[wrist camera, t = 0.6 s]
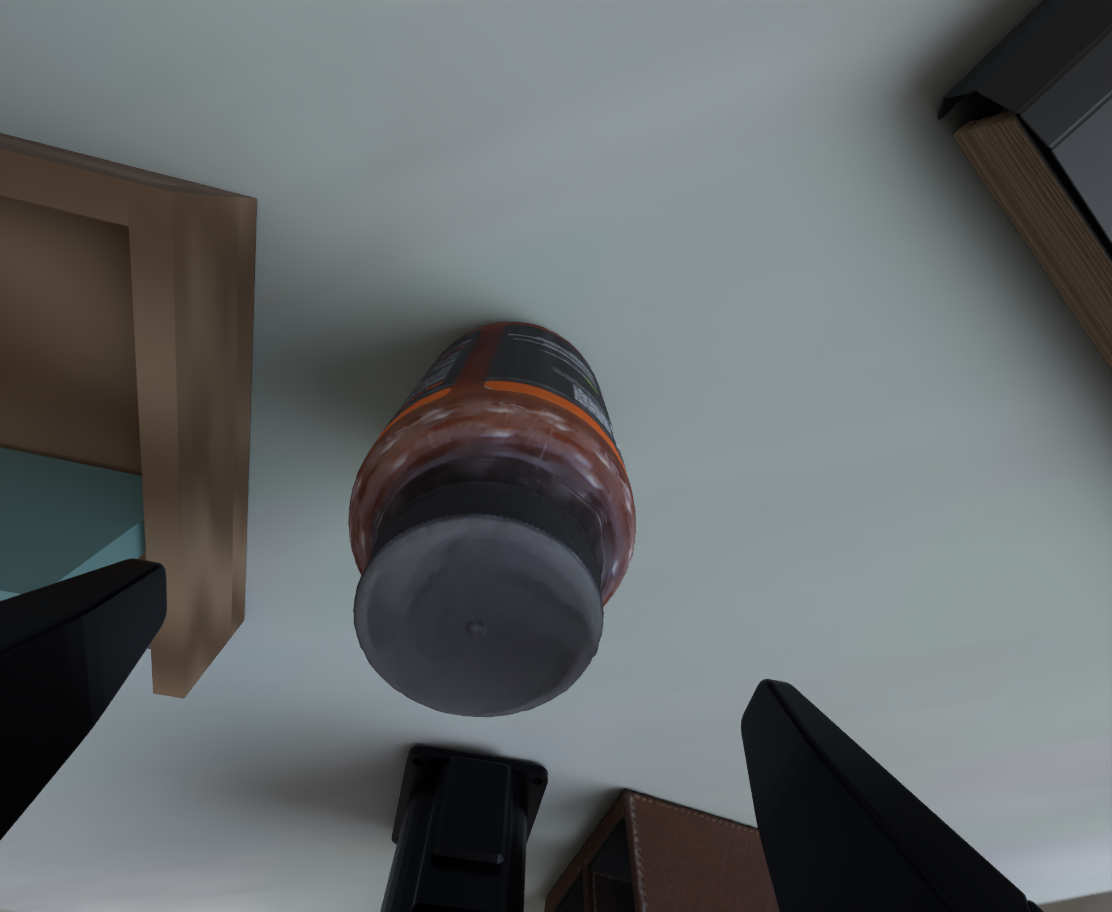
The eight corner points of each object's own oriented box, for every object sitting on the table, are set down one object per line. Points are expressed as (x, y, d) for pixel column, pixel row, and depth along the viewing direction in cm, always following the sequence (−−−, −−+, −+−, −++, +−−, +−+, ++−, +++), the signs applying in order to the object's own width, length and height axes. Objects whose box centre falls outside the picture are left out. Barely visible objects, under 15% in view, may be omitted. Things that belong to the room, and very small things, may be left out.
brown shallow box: (244, 620, 22) (183, 698, 19) (-32, 570, 21) (-153, 642, 18) (257, 198, 16) (172, 191, 13) (-127, 100, 15) (-341, 62, 12)
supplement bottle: (413, 459, 20) (259, 724, 9) (448, 294, 18) (298, 400, 7) (572, 501, 20) (594, 790, 10) (625, 347, 18) (725, 514, 8)
